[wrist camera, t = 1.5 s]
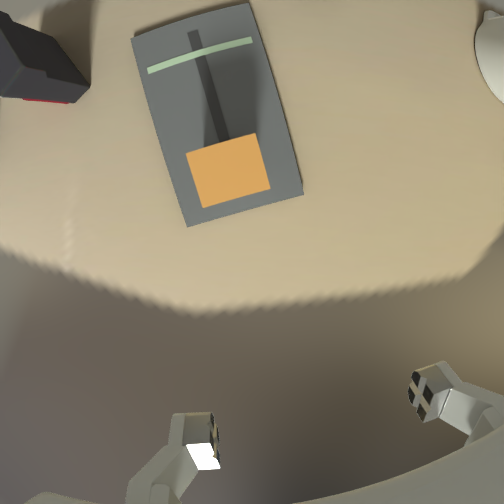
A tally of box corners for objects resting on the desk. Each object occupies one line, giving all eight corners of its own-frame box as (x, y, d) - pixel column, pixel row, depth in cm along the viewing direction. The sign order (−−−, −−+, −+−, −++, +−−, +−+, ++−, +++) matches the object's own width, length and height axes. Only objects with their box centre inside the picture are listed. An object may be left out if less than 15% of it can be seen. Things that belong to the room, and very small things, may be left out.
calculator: (35, 57, 28) (-38, 40, 14) (56, 33, 27) (-13, 6, 13) (71, 108, 31) (-5, 104, 17) (95, 84, 30) (24, 65, 16)
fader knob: (249, 133, 33) (255, 132, 23) (260, 173, 34) (270, 188, 25) (199, 148, 33) (185, 153, 23) (211, 187, 34) (202, 208, 25)
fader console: (248, 6, 28) (248, 2, 27) (302, 192, 37) (304, 194, 35) (133, 41, 29) (130, 38, 28) (188, 224, 37) (187, 227, 36)
